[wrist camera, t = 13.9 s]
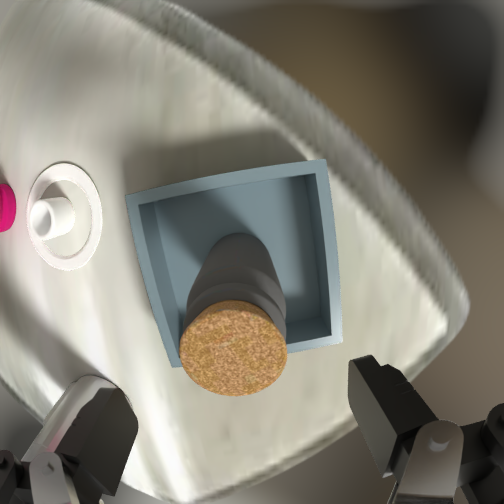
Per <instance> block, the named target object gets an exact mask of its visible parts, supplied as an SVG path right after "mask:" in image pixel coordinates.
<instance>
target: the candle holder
mask: <svg viewBox="0 0 504 504" xmlns="http://www.w3.org/2000/svg"><path fill="white" fill-rule="evenodd" d="M58 180H69V181H72V182H74V183H75V184H77V185H78V186H79V187H80V188H81V189H82V190H83V192H84V193H85V195H86V197H87V199H88V201H89V205H90V209H91V217H92V222H91V230H90V234H89V237H88V240H87V242H86V244H85V245H84V247H83V248H82V249H81V250H80V251H79V252H77V253H76V254H74V255H71V256H61V255H58V254H56V253H54V252H52V251H51V250H50V249H49V248H48V247H47V246H46V244H45V243H44V241H43V240H48V239H51V238H54V237H57V236H60V235H63V234H66V233H68V232H69V231H70V230H71V229H72V227H73V225H74V221H75V211H74V208H73V205H72V203H71V202H70V201H69V200H68V199H66V198H64V197H56V198H48V199H41V200H40V198H41V196H42V194H43V193H44V191H45V190H46V188H47V187H48V186H49V185H51V184H52V183H54V182H56V181H58ZM26 219H27V228H28V232H29V236H30V239H31V241H32V244H33V246H34V248H35V250H36V251H37V253H38V254H39V255H40V257H41V258H42V259H43V260H44V261H45V262H47V263H48V264H49V265H51V266H53V267H55V268H57V269H60V270H67V271H72V270H75V269H77V268H79V267H81V266H84V265H85V264H86V263H87V262H88V260H89V259H90V258H91V256H92V255H93V253H94V252H95V250H96V248H97V245H98V242H99V239H100V235H101V230H102V208H101V202H100V198H99V195H98V192H97V190H96V187H95V185H94V184H93V182H92V180H91V179H90V177H89V176H88V175H87V174H86V173H85V172H84V171H83V170H82V169H80V168H79V167H77V166H75V165H72V164H67V163H61V164H56V165H53V166H51V167H49V168H48V169H46V170H45V171H44V172H43V173H42V174H41V175H40V176H39V177H38V178H37V180H36V181H35V183H34V185H33V187H32V189H31V192H30V195H29V198H28V203H27V211H26Z"/></svg>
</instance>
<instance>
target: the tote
mask: <svg viewBox="0 0 504 504" xmlns="http://www.w3.org/2000/svg"><path fill="white" fill-rule="evenodd" d="M125 198H126V203H127V209H128V214H129V219H130V224H131V229H132V233H133V238H134V242H135V247H136V251H137V255H138V259H139V263H140V267H141V271H142V275H143V279H144V282H145V286H146V290H147V293H148V297H149V300H150V303H151V307H152V310H153V313H154V317H155V320H156V323H157V326H158V329H159V332H160V335H161V338H162V341H163V344H164V347H165V350H166V352H167V355H168V358H169V361H170V363H171V366H172V368H173V367H183V366H182V363H181V360H180V355H179V345H180V340H181V337H182V335H183V325H184V320H185V317H186V304H187V299H188V295H189V292H190V290H191V287H192V285H193V283H194V281H195V279H196V277H197V275H198V273H199V271H200V269H201V267H202V265H203V263H204V261H205V259H206V258H207V256H208V254H209V252H210V250H211V249H212V247H213V246H214V244H215V243H216V242H217V241H218V240H220V239H221V238H223V237H224V236H226V235H229V234H233V233H246V234H250V235H252V236H254V237H256V238H258V239H259V240H260V241H261V242H262V243H263V244H264V245H265V246H266V248H267V250H268V252H269V254H270V257H271V259H272V262H273V265H274V268H275V270H276V273H277V276H278V279H279V282H280V285H281V288H282V291H283V294H284V298H285V303H286V317H285V325H286V340H285V342H286V346H287V354H288V353H294V352H299V351H304V350H309V349H314V348H319V347H323V346H328V345H332V344H337V343H341V342H342V312H341V292H340V276H339V263H338V251H337V241H336V231H335V222H334V214H333V206H332V198H331V191H330V184H329V177H328V171H327V164H326V159H320V160H311V161H302V162H294V163H286V164H279V165H272V166H265V167H258V168H252V169H246V170H240V171H234V172H228V173H223V174H218V175H212V176H207V177H202V178H197V179H192V180H188V181H183V182H178V183H174V184H169V185H165V186H161V187H157V188H152V189H148V190H144V191H140V192H136V193H133V194H129V195H125Z"/></svg>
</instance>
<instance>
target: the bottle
mask: <svg viewBox="0 0 504 504" xmlns="http://www.w3.org/2000/svg"><path fill="white" fill-rule="evenodd" d="M285 317H286V303H285V298H284V294H283V291H282V288H281V285H280V282H279V279H278V276H277V273H276V270H275V268H274V265H273V262H272V259H271V257H270V254H269V252H268V250H267V248H266V246H265V245H264V244H263V243H262V242H261V241H260V240H259V239H258V238H256V237H254V236H252V235H250V234H246V233H233V234H229V235H226V236H224V237H223V238H221V239H220V240H218V241H217V242H216V243H215V244H214V246H213V247H212V249H211V250H210V252H209V254H208V256H207V258H206V259H205V261H204V263H203V265H202V267H201V269H200V271H199V273H198V275H197V277H196V279H195V281H194V283H193V285H192V287H191V290H190V292H189V295H188V299H187V304H186V317H185V320H184V325H183V335H182V337H181V340H180V345H179V355H180V360H181V363H182V366H183V368H184V369H185V371H186V373H187V374H188V375H189V377H190V378H191V379H192V380H193V381H194V382H196V383H197V384H198V385H200V386H201V387H203V388H205V389H207V390H209V391H211V392H214V393H217V394H221V395H227V396H242V395H249V394H253V393H256V392H259V391H261V390H263V389H265V388H266V387H268V386H270V385H271V384H272V383H273V382H275V381H276V379H277V378H278V377H279V376H280V375H281V373H282V371H283V369H284V367H285V364H286V360H287V346H286V342H285V340H286V325H285Z"/></svg>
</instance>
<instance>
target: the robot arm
mask: <svg viewBox="0 0 504 504" xmlns="http://www.w3.org/2000/svg"><path fill="white" fill-rule="evenodd" d="M348 400H349V404H350V408H351V410H352V412H353V414H354V416H355V419H356V421H357V423H358V425H359V427H360V429H361V431H362V434H363V436H364V438H365V440H366V442H367V444H368V447H369V449H370V451H371V453H372V455H373V458H374V460H375V462H376V464H377V466H378V469H379V471H380V473H381V475H382V477H383V478H384V477H386V476H389V475H392V474H393V475H394V476H395V479H396V481H397V482H396V484H395V486H394V489H393V491H392V494H391V496H390V499H389V501H388V503H387V504H454V503H453V498H454V493H455V489H456V487H458V486H460V487H461V488H462V490H463V492H464V494H465V496H466V498H467V500H468V502H469V504H504V403H502V404H499V405H497V406H495V407H494V408H493V409H492V410H491V411H490V413H489V414H488V416H487V419H486V420H483V421H480V422H476V423H473V424H469V425H466V426H458V425H457V424H455V423H454V422H451V421H448V420H439V419H438V418H437V417H436V416H435V414H434V413H433V412H432V411H431V409H430V408H429V407H428V405H427V404H426V403H425V402H424V400H423V399H422V398H421V396H420V395H419V394H418V393H417V392H416V390H414V388H413V386H412V385H411V384H410V383H409V382H408V381H407V379H406V378H405V376H404V375H403V374H402V373H401V371H400V370H398V369H396V368H394V367H392V366H391V365H389V364H387V365H384V366H380V365H379V363H378V362H377V361H376V359H375V358H374V357H373V356H372V355H367V356H364V357H360V358H356V359H353V360H350V361H349V368H348ZM43 425H44V427H43V428H42V430H41V431H40V433H39V434H38V436H37V437H36V439H35V440H34V442H33V443H32V445H31V446H30V448H29V450H28V451H27V452H26V454H25V456H24V457H23V458H22V460H21V461H18V459H17V458H16V457H15V456H14V455H13V454H12V453H11V452H10V451H8V450H1V451H0V504H104V502H103V501H102V500H101V499H100V498H101V496H102V494H106V495H110V496H115V494H116V491H117V488H118V485H119V482H120V479H121V476H122V474H123V471H124V468H125V465H126V462H127V460H128V457H129V454H130V451H131V449H132V446H133V443H134V441H135V438H136V435H137V433H138V420H137V417H136V415H135V414H134V412H133V410H132V406H131V403H130V401H129V400H128V398H127V397H126V396H125V394H124V393H123V391H122V390H121V389H120V388H117V387H116V386H115V385H113V384H112V383H110V382H109V381H107V380H105V379H102V378H100V377H97V376H93V375H86V376H82V377H81V378H79V380H78V381H77V382H72V383H71V384H70V386H69V387H68V388H67V389H66V391H65V392H64V393H63V395H62V396H61V397H60V399H59V400H58V401H57V403H56V404H55V405H54V407H53V408H52V409H51V411H50V412H49V413H48V415H47V416H46V418H45V419H44V420H43Z"/></svg>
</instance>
